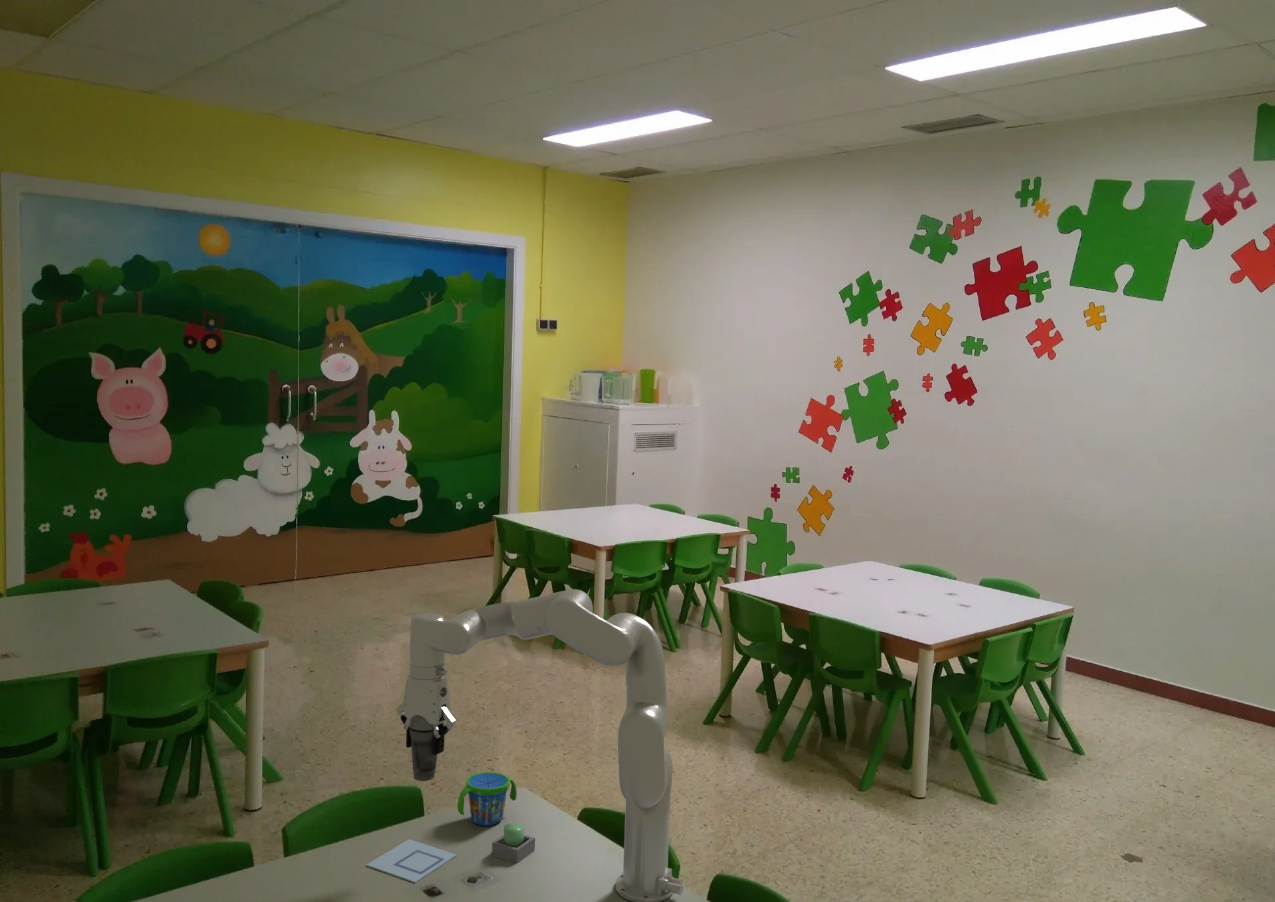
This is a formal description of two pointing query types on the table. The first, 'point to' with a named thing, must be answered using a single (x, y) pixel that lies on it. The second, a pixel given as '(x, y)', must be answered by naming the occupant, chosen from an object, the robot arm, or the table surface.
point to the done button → (514, 834)
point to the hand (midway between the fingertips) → (424, 748)
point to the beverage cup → (422, 748)
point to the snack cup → (486, 797)
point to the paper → (411, 860)
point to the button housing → (513, 849)
